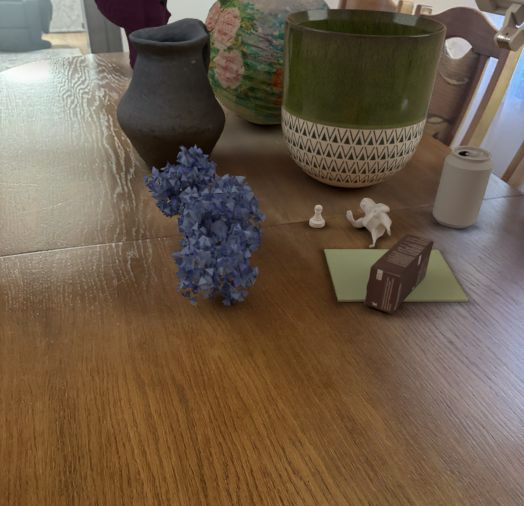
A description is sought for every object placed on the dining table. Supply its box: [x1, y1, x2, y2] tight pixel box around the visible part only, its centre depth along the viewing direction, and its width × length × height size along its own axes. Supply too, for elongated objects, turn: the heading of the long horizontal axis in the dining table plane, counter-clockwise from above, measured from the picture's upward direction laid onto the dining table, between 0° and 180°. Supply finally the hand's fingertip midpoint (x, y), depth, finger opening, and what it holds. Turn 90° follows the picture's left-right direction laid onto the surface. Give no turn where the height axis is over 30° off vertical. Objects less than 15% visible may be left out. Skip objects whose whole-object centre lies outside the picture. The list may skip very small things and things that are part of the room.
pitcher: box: [116, 17, 227, 174], centre depth 105 cm, size 21×22×25 cm
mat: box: [323, 248, 469, 303], centre depth 82 cm, size 18×14×1 cm
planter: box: [281, 8, 448, 189], centre depth 101 cm, size 27×27×27 cm
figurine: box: [345, 197, 393, 249], centre depth 91 cm, size 6×6×12 cm
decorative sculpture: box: [143, 144, 266, 307], centre depth 78 cm, size 14×15×30 cm
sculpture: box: [93, 0, 172, 71], centre depth 160 cm, size 18×22×30 cm
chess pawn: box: [308, 204, 326, 229], centre depth 93 cm, size 3×3×4 cm
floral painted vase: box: [204, 0, 331, 125], centre depth 127 cm, size 32×33×30 cm
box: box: [364, 232, 435, 315], centre depth 76 cm, size 6×4×12 cm
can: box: [432, 145, 494, 229], centre depth 93 cm, size 8×8×12 cm
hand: (503, 45), depth 67 cm, fingers closed
